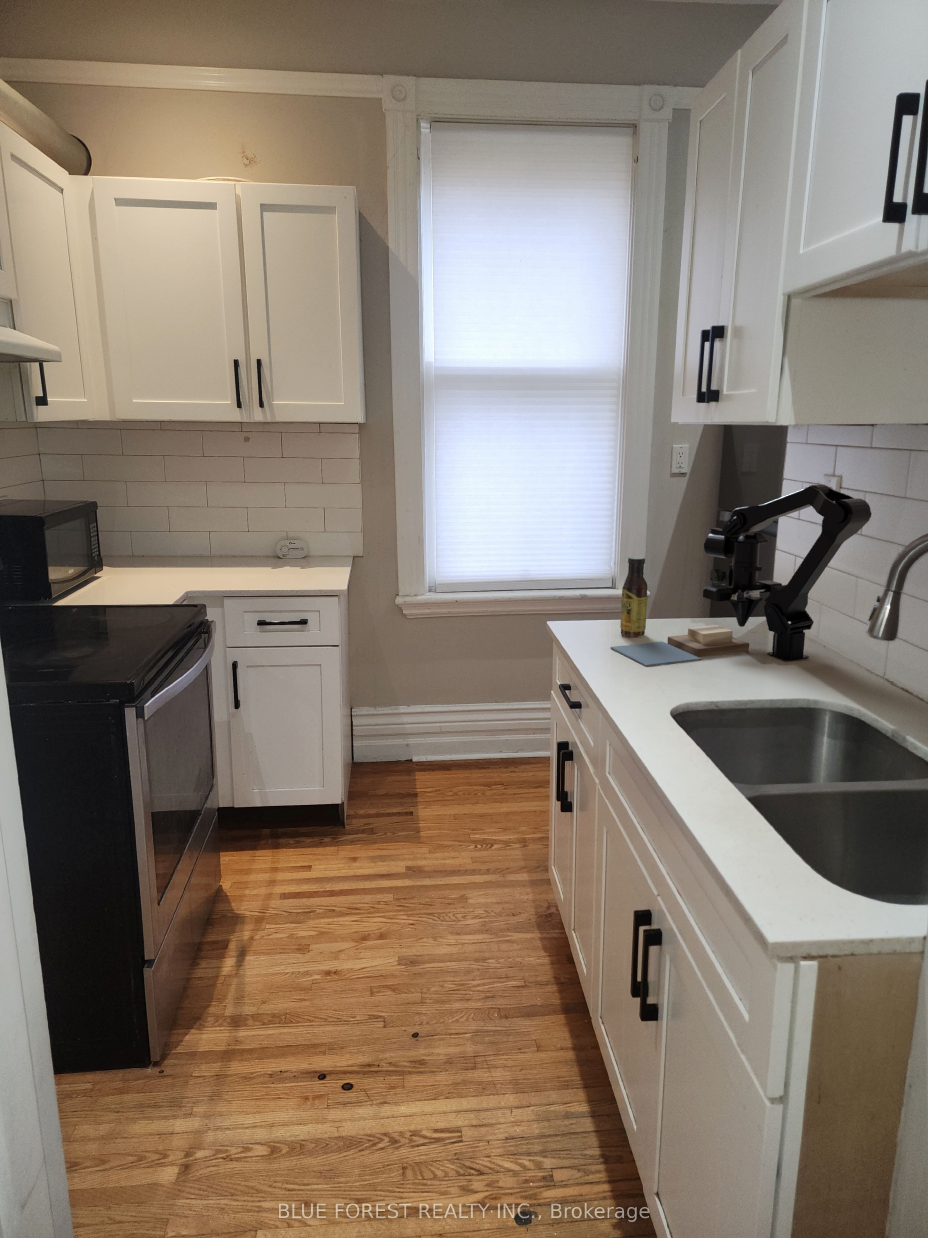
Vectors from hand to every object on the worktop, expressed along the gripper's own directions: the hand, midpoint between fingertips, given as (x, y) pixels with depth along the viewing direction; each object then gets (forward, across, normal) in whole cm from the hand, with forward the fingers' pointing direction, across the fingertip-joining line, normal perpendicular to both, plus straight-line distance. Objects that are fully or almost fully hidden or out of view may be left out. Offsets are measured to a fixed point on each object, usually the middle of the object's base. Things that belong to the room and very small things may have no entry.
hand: (741, 626), depth 192 cm
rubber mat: (+4, +23, 0) cm, 24 cm away
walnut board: (+4, +9, 0) cm, 10 cm away
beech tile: (+1, +8, 0) cm, 9 cm away
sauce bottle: (+5, +19, -17) cm, 26 cm away
